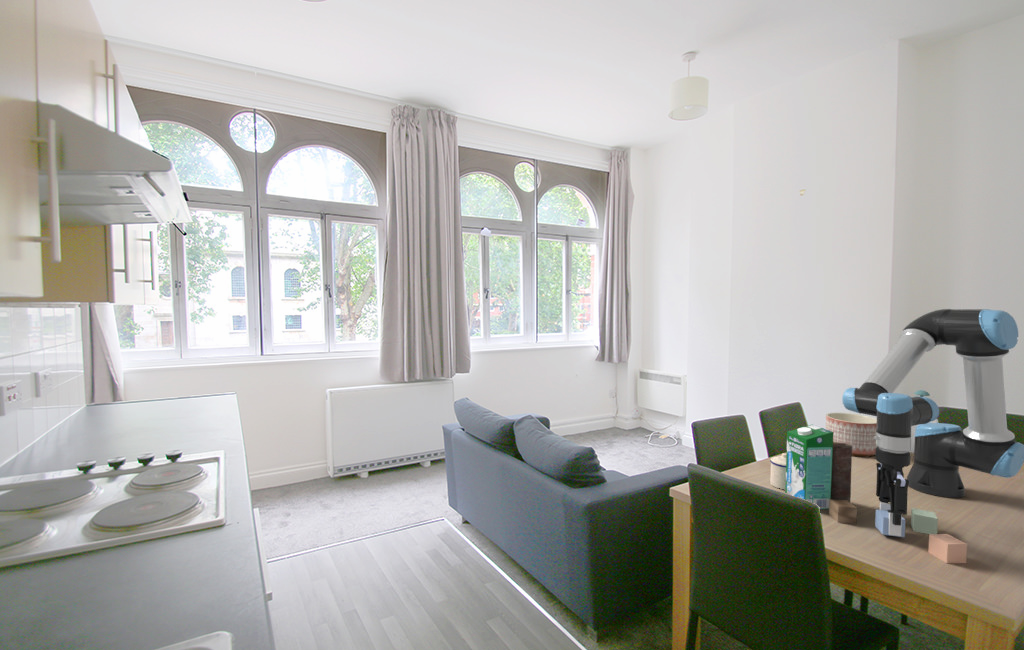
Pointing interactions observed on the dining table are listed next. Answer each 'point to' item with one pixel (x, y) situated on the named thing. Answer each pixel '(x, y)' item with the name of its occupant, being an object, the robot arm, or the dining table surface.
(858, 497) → the dining table surface
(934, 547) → the terracotta cube
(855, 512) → the walnut cube
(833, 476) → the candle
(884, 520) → the slate blue cube
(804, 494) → the milk carton
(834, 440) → the planter
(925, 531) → the sage cube
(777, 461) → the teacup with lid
